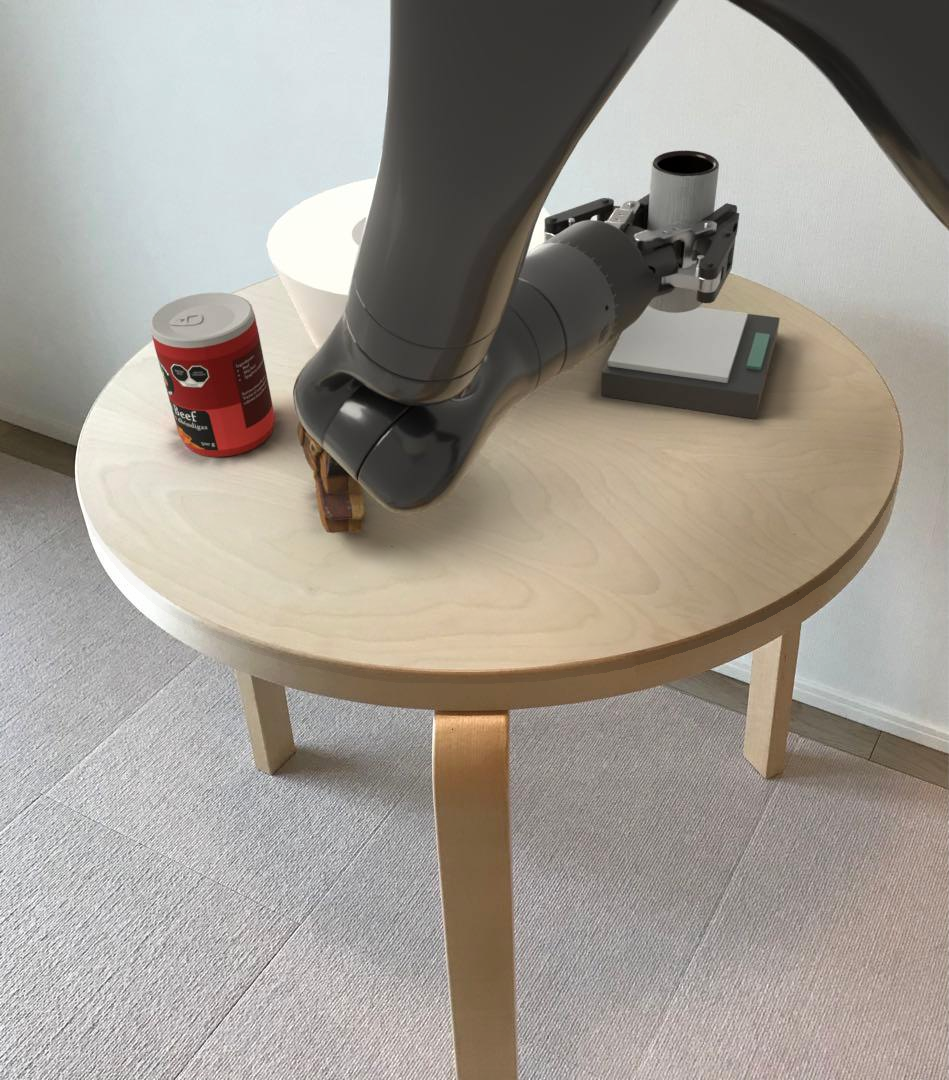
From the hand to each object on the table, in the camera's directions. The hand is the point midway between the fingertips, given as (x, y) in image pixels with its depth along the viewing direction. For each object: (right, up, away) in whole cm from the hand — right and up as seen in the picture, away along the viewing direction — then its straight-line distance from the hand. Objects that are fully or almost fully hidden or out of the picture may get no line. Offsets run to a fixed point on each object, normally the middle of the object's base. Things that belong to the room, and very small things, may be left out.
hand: (698, 209), depth 77 cm
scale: (+3, -9, +17) cm, 19 cm away
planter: (-1, -6, +2) cm, 7 cm away
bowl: (-21, -7, +21) cm, 30 cm away
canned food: (-37, -15, +12) cm, 42 cm away
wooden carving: (-26, -21, +5) cm, 34 cm away
